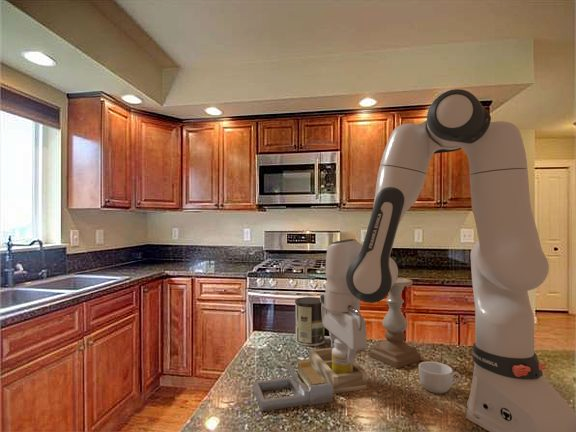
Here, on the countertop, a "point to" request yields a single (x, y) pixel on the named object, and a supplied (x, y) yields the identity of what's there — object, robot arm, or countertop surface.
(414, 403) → the countertop surface
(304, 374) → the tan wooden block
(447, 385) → the teacup
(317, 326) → the coffee can
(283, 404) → the socket block
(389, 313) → the candle holder
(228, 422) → the countertop surface
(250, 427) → the countertop surface
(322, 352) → the box
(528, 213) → the robot arm
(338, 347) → the supplement bottle
